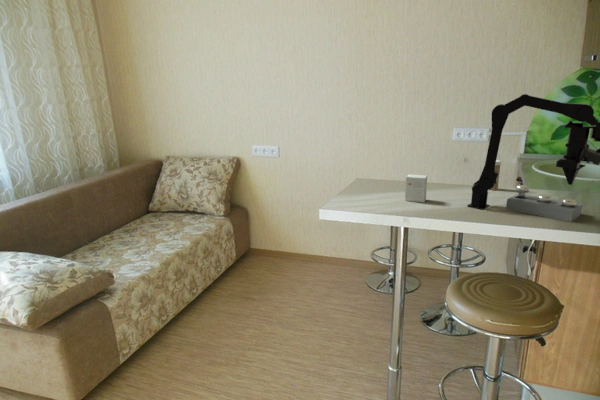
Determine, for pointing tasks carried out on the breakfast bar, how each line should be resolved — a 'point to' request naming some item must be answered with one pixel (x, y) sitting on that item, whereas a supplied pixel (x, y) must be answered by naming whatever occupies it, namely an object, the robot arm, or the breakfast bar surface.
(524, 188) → the knob left
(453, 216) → the breakfast bar surface
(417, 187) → the small box
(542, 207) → the mount
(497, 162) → the sprinkles bottle
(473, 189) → the robot arm
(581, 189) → the breakfast bar surface
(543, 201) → the knob middle
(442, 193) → the breakfast bar surface
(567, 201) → the knob right
